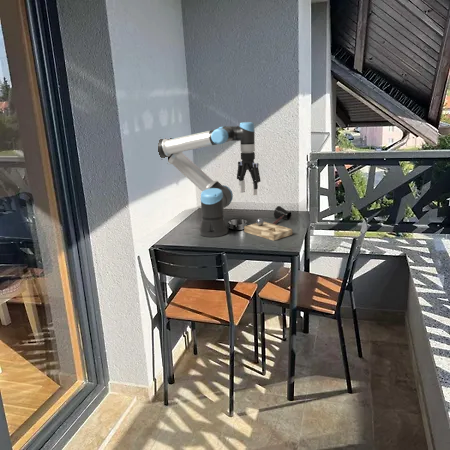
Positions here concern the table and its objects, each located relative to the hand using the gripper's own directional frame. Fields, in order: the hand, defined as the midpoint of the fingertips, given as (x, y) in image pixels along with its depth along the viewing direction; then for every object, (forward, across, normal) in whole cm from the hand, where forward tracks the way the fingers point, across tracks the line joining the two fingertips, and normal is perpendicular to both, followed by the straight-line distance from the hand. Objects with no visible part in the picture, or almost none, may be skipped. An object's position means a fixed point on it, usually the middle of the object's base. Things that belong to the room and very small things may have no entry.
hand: (248, 193), depth 239 cm
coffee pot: (+20, -1, -22) cm, 29 cm away
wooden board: (+19, -14, 0) cm, 24 cm away
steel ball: (+14, -8, 0) cm, 17 cm away
